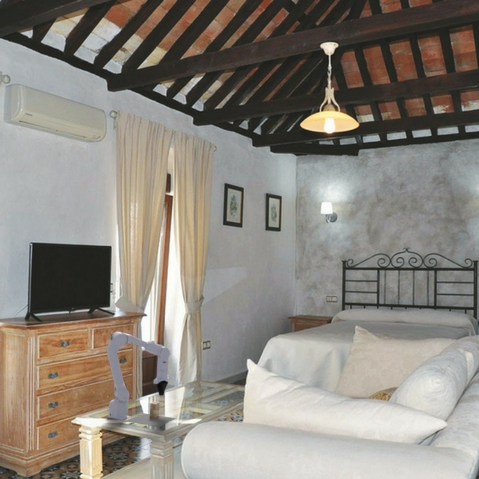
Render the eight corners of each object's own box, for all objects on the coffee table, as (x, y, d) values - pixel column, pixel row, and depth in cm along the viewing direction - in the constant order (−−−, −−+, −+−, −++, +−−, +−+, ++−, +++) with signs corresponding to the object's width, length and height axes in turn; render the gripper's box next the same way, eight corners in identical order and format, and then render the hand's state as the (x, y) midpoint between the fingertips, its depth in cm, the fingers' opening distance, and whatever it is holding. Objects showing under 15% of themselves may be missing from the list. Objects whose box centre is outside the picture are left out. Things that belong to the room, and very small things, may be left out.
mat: (124, 422, 285) (124, 421, 285) (142, 413, 302) (142, 413, 302) (159, 427, 278) (159, 426, 278) (176, 419, 295) (176, 418, 295)
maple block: (149, 417, 295) (150, 403, 295) (152, 415, 298) (153, 401, 298) (155, 418, 293) (156, 404, 294) (159, 416, 297) (159, 402, 297)
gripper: (162, 372, 295) (161, 398, 294) (175, 368, 308) (174, 393, 307) (150, 371, 297) (149, 397, 297) (164, 366, 311) (162, 392, 310)
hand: (161, 395), depth 302 cm, fingers closed
